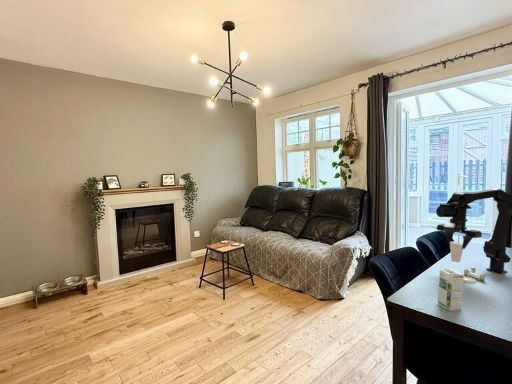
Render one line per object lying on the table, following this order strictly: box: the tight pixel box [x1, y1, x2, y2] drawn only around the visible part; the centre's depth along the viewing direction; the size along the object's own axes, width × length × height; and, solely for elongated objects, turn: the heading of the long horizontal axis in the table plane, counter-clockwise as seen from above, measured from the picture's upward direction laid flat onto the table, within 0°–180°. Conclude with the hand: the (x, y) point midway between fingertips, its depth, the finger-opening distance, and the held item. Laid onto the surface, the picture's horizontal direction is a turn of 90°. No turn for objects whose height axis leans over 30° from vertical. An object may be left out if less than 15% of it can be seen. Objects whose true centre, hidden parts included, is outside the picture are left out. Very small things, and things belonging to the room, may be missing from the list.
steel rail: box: [463, 267, 486, 283], centre depth 136 cm, size 7×9×3 cm
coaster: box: [463, 276, 478, 284], centre depth 133 cm, size 8×8×1 cm
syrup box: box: [437, 268, 464, 312], centre depth 107 cm, size 6×6×14 cm
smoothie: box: [448, 234, 464, 263], centre depth 141 cm, size 6×6×14 cm
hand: (456, 246), depth 141 cm, fingers closed on smoothie, 6 cm apart
